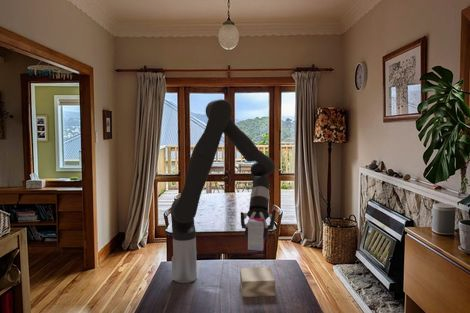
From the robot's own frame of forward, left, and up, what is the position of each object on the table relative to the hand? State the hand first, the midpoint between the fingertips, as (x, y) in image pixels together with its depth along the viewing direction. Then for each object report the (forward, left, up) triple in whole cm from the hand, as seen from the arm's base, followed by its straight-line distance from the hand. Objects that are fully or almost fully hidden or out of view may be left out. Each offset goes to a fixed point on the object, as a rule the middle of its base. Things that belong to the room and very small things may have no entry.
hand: (255, 238), depth 128 cm
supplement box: (0, +2, -5) cm, 5 cm away
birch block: (0, +1, -20) cm, 20 cm away
